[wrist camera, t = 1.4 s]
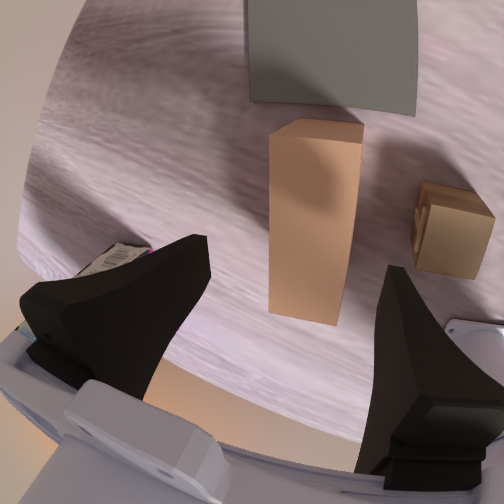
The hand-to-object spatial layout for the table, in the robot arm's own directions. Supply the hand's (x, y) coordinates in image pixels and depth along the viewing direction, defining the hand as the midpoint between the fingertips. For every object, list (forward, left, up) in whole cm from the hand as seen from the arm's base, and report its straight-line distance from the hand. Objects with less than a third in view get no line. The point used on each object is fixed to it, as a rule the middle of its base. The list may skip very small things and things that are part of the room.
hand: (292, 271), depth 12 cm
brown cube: (-1, -8, -10) cm, 13 cm away
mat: (+11, 0, -10) cm, 15 cm away
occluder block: (-1, 0, -10) cm, 10 cm away
